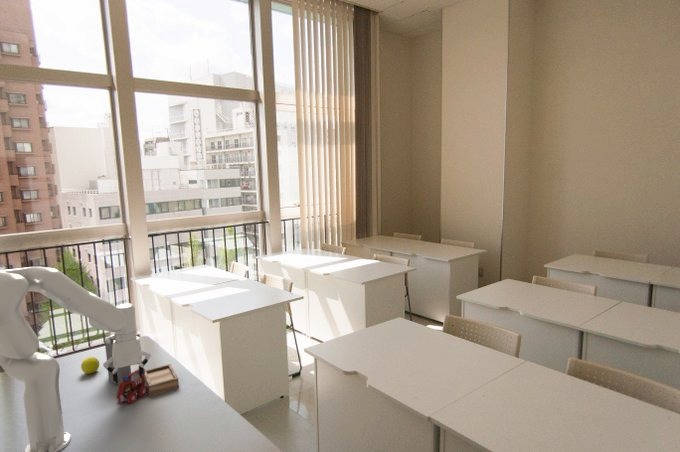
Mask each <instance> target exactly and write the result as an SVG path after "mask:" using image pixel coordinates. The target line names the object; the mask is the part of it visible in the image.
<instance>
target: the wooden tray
mask: <svg viewBox="0 0 680 452" xmlns="http://www.w3.org/2000/svg"><path fill="white" fill-rule="evenodd" d="M176 373H177V372H176V371H175V370H174V367H173V366H172V364H171V363H169V364H165V365H161V366H158V367H152V368H148V369H145V374H144V378H145V386H147V388H148V392H147V393H148V395H149V397H152V396H156V395H160V394H162V393H165V392H170V391H172V390H176V389H178V388H179V386H180V382H179V377H178V375H177V374H176Z"/></svg>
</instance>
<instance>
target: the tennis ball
mask: <svg viewBox="0 0 680 452" xmlns="http://www.w3.org/2000/svg"><path fill="white" fill-rule="evenodd" d="M80 368H81V370H82V372H83V373H84V374H88V375H89V374H93V373H95V372H97V371H98V369H100V362H99V360H98V358H96V357H94V356H90V357H87V358H84V359H83V361H82V362H81V366H80Z"/></svg>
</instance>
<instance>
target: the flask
mask: <svg viewBox="0 0 680 452" xmlns="http://www.w3.org/2000/svg"><path fill="white" fill-rule="evenodd" d="M113 341H114V339H111V336H109V337H108V338H106V339H104V347H105V357H106V361H107V360H108V359H110V358H111V357H112V349H113ZM109 366H110V367H112V368H113V367H114V366H113V361H112V362H111V363H110V364H109ZM131 366H132V365H131ZM131 366H126V367H122V368H118V370H117V376H118V383H117V384H116V382H115V381H113V374H112V373H111V372H109V371H108V370H107V374H108V380H109V381H110V382H111V383H113V384H114V385H116V386H120V383H121V382H123V377H124V376H128V375H129V374H131V373H132V368H131ZM128 384H129V383H128Z"/></svg>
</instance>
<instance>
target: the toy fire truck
mask: <svg viewBox="0 0 680 452" xmlns="http://www.w3.org/2000/svg"><path fill="white" fill-rule="evenodd" d="M143 370H144V374H145V370H146V369H145V367H143ZM144 374H142V378H140V376H139V368H137V369H136V370H134V371H133V372H132V371H131V374H129V375H128V376H124V377H123V382H121V383H120V386H119V385H118V386H119V387H118V391H117V393H116V400H117V402H119V403H123V402H125V401H126V402H127V403H129V404H133V403H135V402H136V400H137V398H138V397H141V398H143V397H145V396H146V395H147V394H148V393H149V392H148V388H147V386H146V384H145V378H144ZM128 383H129V384H128Z"/></svg>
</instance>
